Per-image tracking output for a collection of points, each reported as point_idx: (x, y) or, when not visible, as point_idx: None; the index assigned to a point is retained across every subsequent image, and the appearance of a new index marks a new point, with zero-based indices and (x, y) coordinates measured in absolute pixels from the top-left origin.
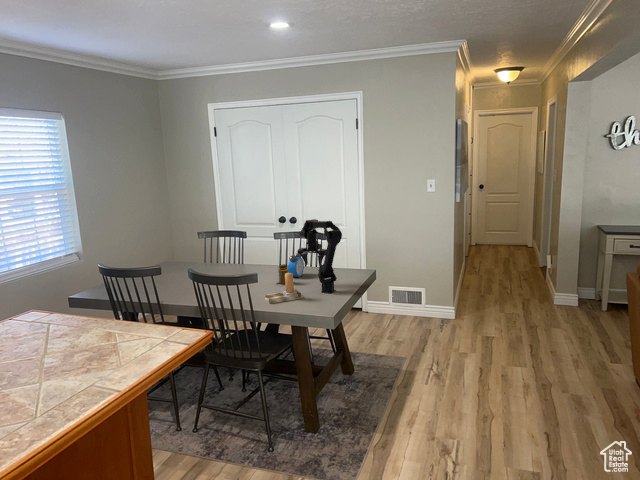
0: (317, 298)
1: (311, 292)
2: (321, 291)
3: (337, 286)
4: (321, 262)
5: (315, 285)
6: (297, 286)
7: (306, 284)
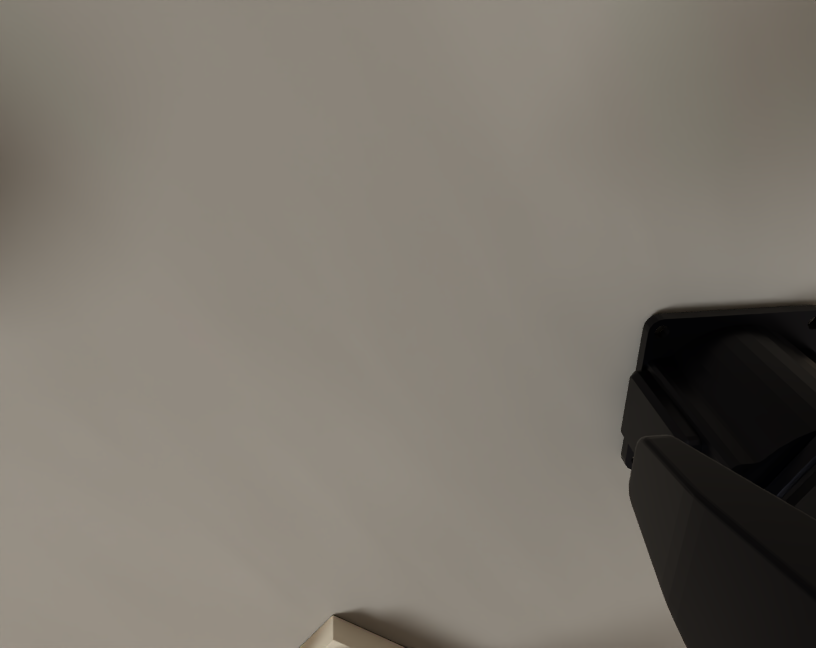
0: (658, 629)
1: (473, 498)
2: (627, 459)
3: (795, 43)
4: (803, 526)
5: (316, 149)
6: (25, 340)
7: (82, 154)
